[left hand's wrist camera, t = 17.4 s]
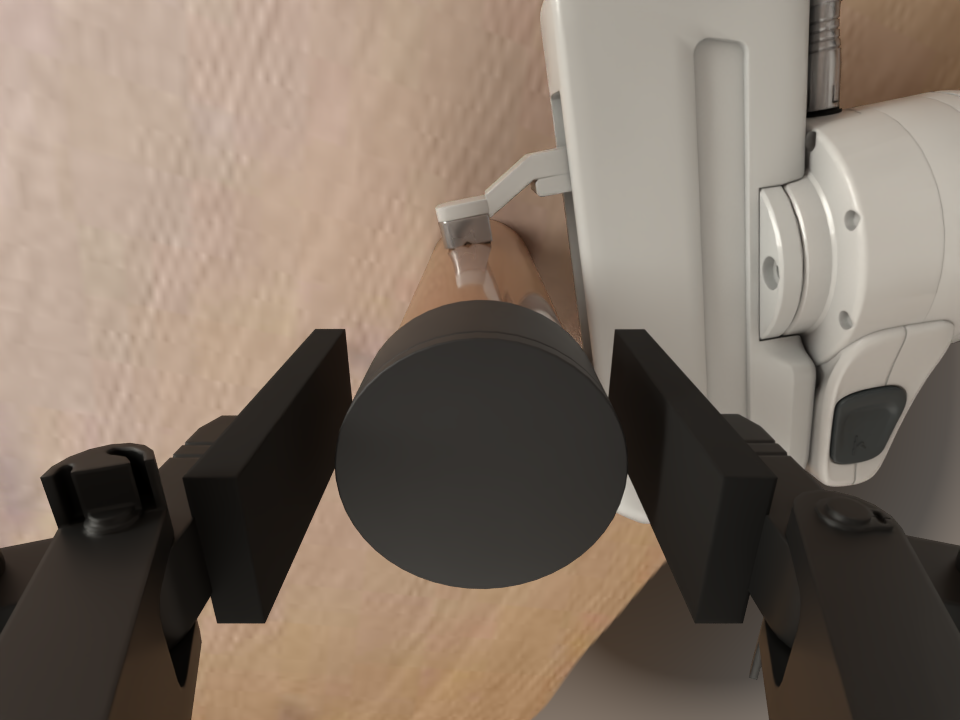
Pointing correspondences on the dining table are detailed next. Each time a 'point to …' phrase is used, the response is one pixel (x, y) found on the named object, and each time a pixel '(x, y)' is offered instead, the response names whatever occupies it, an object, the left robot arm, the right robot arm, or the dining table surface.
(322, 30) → the dining table surface
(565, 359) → the lid
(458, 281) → the jar
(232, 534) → the left robot arm
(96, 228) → the dining table surface
